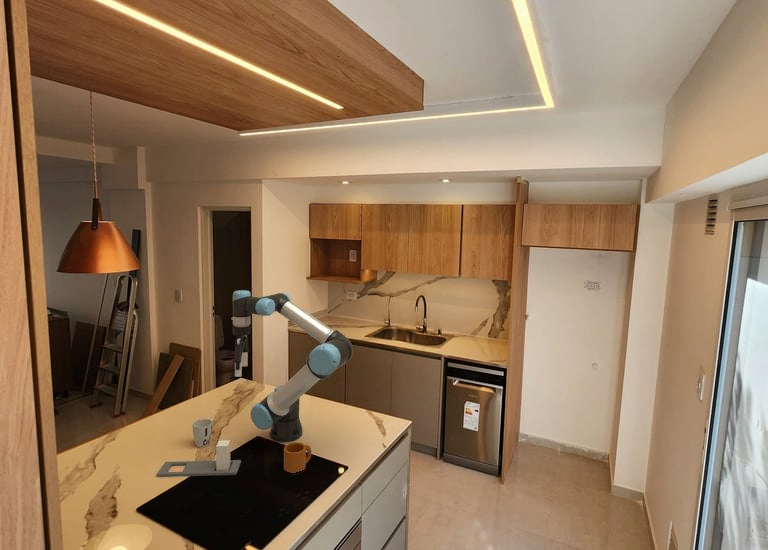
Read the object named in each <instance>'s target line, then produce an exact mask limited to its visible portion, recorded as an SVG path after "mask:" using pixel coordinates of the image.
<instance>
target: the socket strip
mask: <svg viewBox="0 0 768 550" xmlns="http://www.w3.org/2000/svg"><path fill="white" fill-rule="evenodd" d="M241 463H242V460H241V459H233V460H231V459H230V468H229V470H228V471H216V460H189V461H188V460H184V461H183V460H182V461H181V460H179V461H178V460H176V461H165V462H164V463H163V464H162V465H161V467H160V468H159V470H158V471H157V473H156V478H159V477H160V478H161V477H163V478H164V477H165V478H167V477H169V478H170V477H198V476H199V477H200V476H201V477H202V476H203V477H204V476H209V477H210V476H236V475H237V474H238V471H239V469H240V466H241ZM174 466H175V467H178V466H180V467H182V466H183V467H184V468H183V469H182V471H170V469H171V468H172V467H174Z"/></svg>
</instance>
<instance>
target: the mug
mask: <svg viewBox="0 0 768 550" xmlns="http://www.w3.org/2000/svg"><path fill="white" fill-rule="evenodd" d="M311 458H312V447H311V446H310V445H309V444H305V443H303V442H298V441H297V442H294V441H293V442H290V443H288V444H286V445H285V446H284V447H283V470H285V471H287V472H290V473H296V472H299V471H302V470H304V469H305V470H306V468H305V467H307V463H309V461H310V459H311ZM305 470H304V471H305ZM285 471H284V472H285Z"/></svg>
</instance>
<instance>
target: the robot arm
mask: <svg viewBox="0 0 768 550" xmlns="http://www.w3.org/2000/svg"><path fill="white" fill-rule="evenodd" d="M274 312H277V314H280V315H281V316H283V317H284V318H285V319H287V320H288V321H289V322H291V323H292V324H294V325H295V326H297V327H298V328H299V329H300V330H302V331H304V332H305V333H306V334H308V335H309V336H311V338H313V339H314V340H316V341H317V342H319V343H320V344H319V345H316V347H315V348H313V350H312V351H310V353H309V356H308V357H307V358H306V360H305V361H306V364H304V366H303V367H302V368H301V369H299V370H298V371H297V372H296V373H295V374H294V375H293V376H292V377H291V378H290V379H288V380H287V381H286V382H285V383H284V384H283V385H279V386H276V387H275V388H274V390H273V391H272V392H270V393H268V395H266V397H264V398H263V399H262V400H261V401H259V402H257V403H255V404H254V405H253V406H252V407H251V410H250V420H251V422H252V423H253V424H254V426H255V427H256V428H257V429H259V430H262V431H266V430H268V429H270V430H269V437H270V439H272V440H273V441H275V442H280V443H288V442H290V443H291V442H294V441H296V440H298V439H300V438H301V437H302V435H303V431H304V430H303V426H302V423H301V419H300V398H301V397H303V395H305V394H306V393H307V392H308V391H309V390H310V389H311V388H312V387H313V386H314V385H315V384H316V383H318V382H319V381H320V380H322V381H323V380H326V379H328V378H329V377H330V376H331V375H333V373H334V372H336V371H337V370H338V369H339V368H341V367H342V366H344V365H346V364H347V363H349V362H350V361H351V360H352V359H353V358H352V357H353V355H354V348H353V344H352V342H351V341H350V339H349V338H348V337H347V336H346V335H345V334H343V333H342V332H340V331H339V330H338V329H332V328H331V327H330V326H328V325H326V324H325V323H324V322H322V321H320V320H319V319H318V318H316V317H315V316H313V315H312V314H310V313H308V312H307V311H306V310H305V309H303V308H301V307H300V306H298V305H297V304H296V303H294V302H292V299H291V297H290V295H289V294H287V293H285V292H278V293H274V294H271V295H264V296H260V297H259V296H257V297H256V296H252V295H251V291H249V290H246V289H245V290H243V289H241V290H235V291H233V293H232V317H231V320H232V334H233V335H235V336H236V337H237V338H235V340H234V342H235V345H234V355H233V360H232V363H234V377H238V378H239V377H240V378H241V377H242V375H243V374H242V370H243V367H248V365H249V364H248V362H249V361H248V358H249V357H248V354H249V352H250V349H249V340H248V339H249V338H248V335H249V334H251V314H252V315H257V316H262V317H264V316H265V317H267V316H271V315H273V313H274Z"/></svg>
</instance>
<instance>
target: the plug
mask: <svg viewBox="0 0 768 550" xmlns="http://www.w3.org/2000/svg"><path fill="white" fill-rule="evenodd" d="M215 454H216V455H215V456H216V457H215V461H216V470H215V471H229V470H230V468H231V465H230V460H231V440H228V439H226V440H218V442H217V444H216V445H215Z"/></svg>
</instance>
